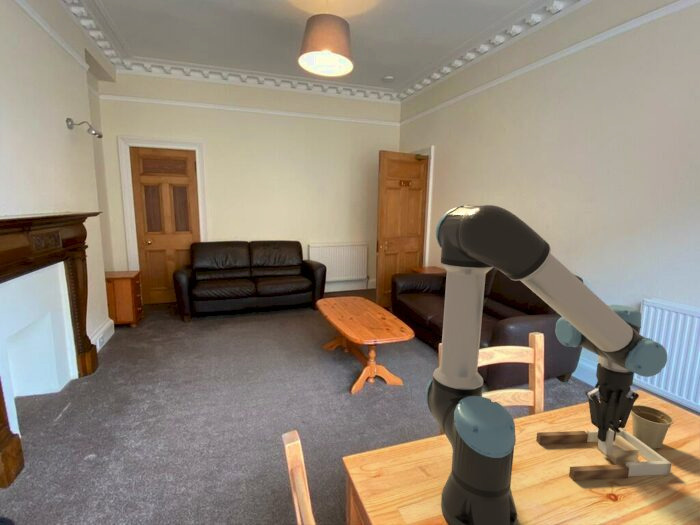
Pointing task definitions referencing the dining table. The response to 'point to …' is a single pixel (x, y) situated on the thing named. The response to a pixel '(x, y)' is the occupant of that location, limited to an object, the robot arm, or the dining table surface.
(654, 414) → the flower pot
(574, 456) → the dining table surface
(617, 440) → the beige square block
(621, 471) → the slot rails
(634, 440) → the corral
